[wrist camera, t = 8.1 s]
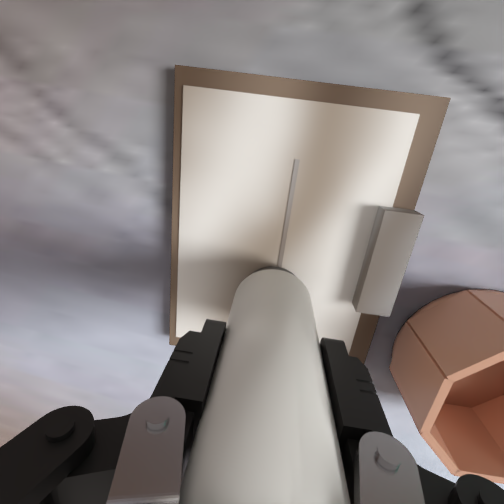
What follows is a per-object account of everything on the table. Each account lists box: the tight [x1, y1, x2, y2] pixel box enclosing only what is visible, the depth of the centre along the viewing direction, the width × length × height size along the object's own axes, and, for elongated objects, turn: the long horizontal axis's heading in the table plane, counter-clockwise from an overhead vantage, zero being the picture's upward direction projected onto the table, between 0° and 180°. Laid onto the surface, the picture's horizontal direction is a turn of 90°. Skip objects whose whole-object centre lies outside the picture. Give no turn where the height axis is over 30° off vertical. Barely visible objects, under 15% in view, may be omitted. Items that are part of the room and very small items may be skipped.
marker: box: [179, 266, 351, 504], centre depth 9 cm, size 4×4×12 cm
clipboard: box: [169, 65, 450, 364], centre depth 14 cm, size 11×14×2 cm
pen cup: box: [389, 289, 504, 484], centre depth 15 cm, size 8×8×4 cm
